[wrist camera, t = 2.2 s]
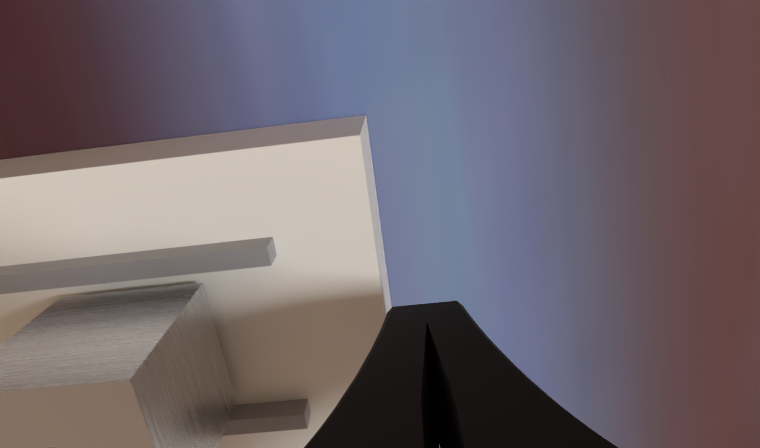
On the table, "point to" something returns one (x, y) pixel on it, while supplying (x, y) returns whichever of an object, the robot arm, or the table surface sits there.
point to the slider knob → (117, 373)
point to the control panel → (218, 253)
